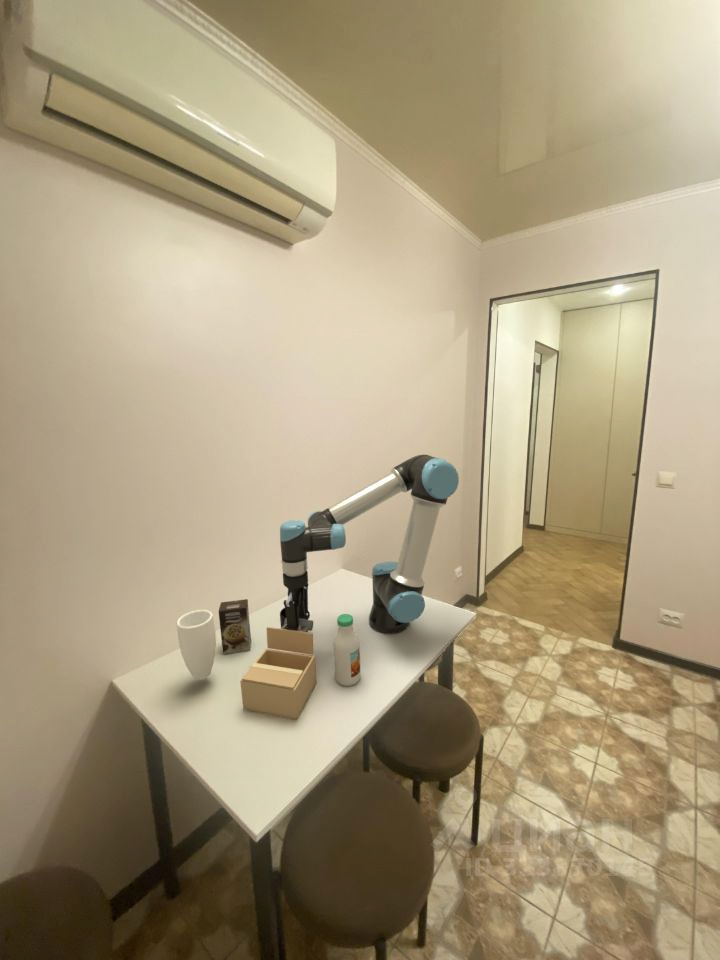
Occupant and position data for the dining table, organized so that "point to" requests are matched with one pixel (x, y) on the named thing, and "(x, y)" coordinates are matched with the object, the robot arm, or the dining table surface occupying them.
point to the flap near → (292, 638)
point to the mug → (283, 617)
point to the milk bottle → (346, 652)
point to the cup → (197, 642)
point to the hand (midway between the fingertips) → (299, 640)
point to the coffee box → (235, 626)
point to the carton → (279, 683)
